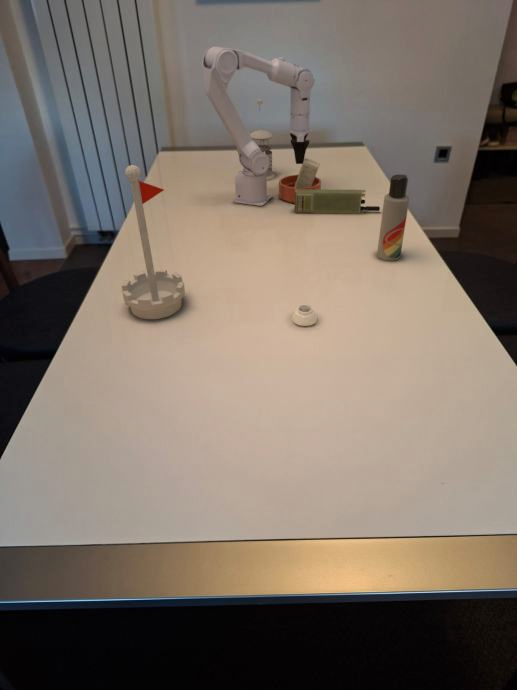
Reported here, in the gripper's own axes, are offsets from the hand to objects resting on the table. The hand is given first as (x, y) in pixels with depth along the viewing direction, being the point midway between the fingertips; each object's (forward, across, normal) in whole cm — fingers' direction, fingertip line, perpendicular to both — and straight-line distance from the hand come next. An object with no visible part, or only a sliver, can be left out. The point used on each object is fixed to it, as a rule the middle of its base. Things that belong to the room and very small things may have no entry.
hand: (299, 159), depth 156 cm
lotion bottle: (+11, -47, -21) cm, 52 cm away
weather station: (+11, +18, +12) cm, 24 cm away
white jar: (+10, -76, +2) cm, 76 cm away
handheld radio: (+11, -18, -11) cm, 23 cm away
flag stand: (+10, -69, +34) cm, 78 cm away
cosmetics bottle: (+9, -4, 0) cm, 10 cm away
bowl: (+10, -4, 0) cm, 11 cm away
